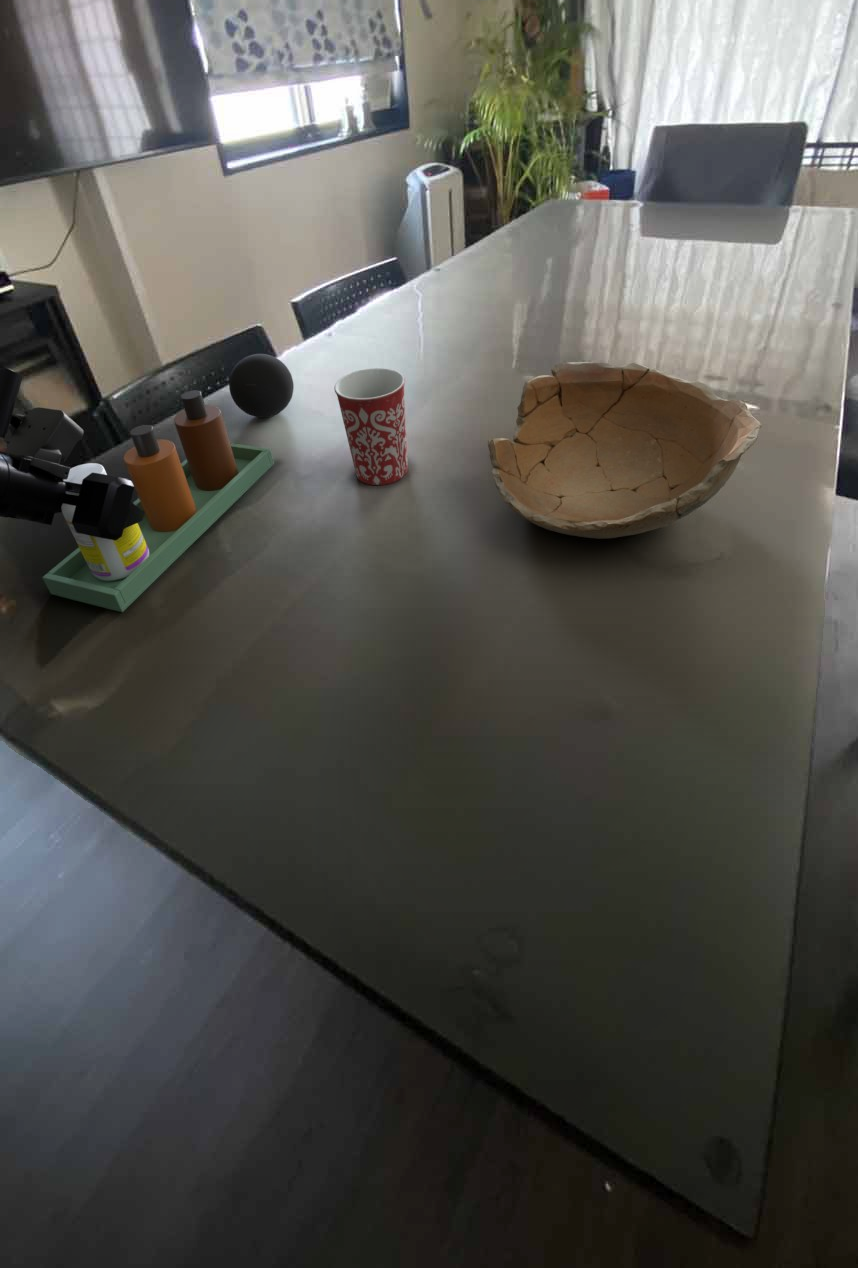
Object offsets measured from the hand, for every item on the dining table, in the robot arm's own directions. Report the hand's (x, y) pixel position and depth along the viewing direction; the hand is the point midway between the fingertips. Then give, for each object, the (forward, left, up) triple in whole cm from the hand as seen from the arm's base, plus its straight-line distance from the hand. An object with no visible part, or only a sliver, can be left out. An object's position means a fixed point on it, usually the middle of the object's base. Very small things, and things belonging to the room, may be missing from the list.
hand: (111, 510), depth 78 cm
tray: (+6, +6, -7) cm, 11 cm away
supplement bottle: (-1, -1, -7) cm, 7 cm away
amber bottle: (+6, +6, -7) cm, 11 cm away
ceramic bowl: (+57, -18, -8) cm, 60 cm away
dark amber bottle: (+12, +12, -7) cm, 19 cm away
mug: (+35, +4, -8) cm, 36 cm away
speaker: (+24, +29, -8) cm, 39 cm away
